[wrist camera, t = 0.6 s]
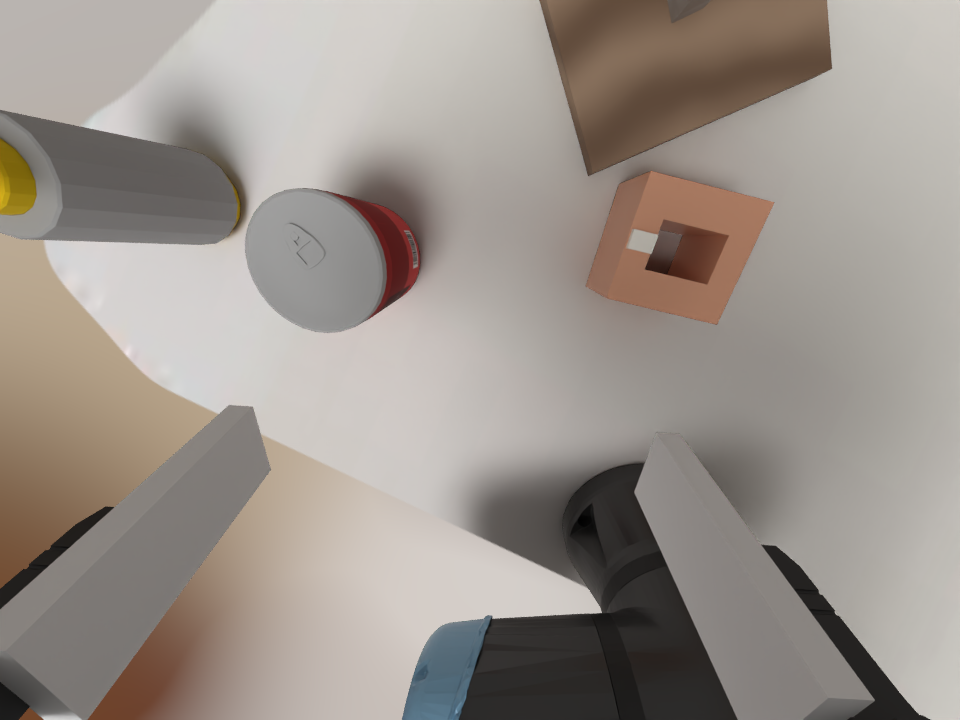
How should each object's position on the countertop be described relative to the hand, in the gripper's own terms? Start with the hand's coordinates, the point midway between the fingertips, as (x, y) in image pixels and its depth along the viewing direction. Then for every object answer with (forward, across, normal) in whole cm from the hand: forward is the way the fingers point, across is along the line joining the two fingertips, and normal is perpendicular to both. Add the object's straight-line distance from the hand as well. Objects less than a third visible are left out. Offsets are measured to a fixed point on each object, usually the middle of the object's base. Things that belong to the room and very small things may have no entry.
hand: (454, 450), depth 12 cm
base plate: (+23, -12, -19) cm, 32 cm away
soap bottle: (+22, +22, -5) cm, 32 cm away
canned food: (+22, +8, -2) cm, 23 cm away
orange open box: (+21, -14, -4) cm, 25 cm away
